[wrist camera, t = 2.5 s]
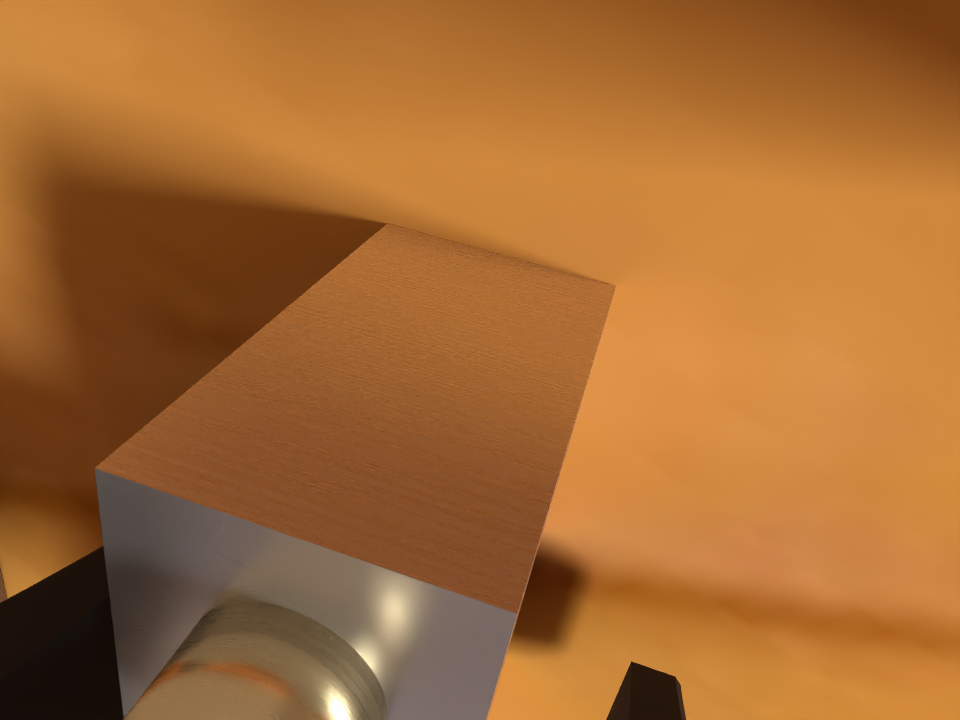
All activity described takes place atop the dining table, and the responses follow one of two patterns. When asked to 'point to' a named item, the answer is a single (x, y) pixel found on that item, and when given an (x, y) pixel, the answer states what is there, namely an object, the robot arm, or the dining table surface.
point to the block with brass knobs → (351, 493)
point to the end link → (2, 589)
